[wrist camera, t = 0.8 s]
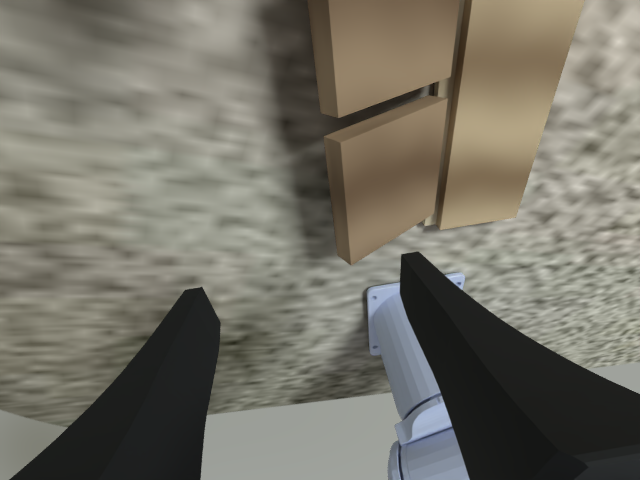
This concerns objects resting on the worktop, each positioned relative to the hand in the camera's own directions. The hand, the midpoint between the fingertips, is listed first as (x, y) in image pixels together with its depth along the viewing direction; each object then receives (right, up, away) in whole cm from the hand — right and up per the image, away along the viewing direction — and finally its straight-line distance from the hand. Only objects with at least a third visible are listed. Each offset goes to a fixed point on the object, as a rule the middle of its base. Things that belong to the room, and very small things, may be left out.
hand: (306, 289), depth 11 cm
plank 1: (+3, +11, +1) cm, 12 cm away
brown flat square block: (+4, +5, +6) cm, 9 cm away
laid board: (+10, +11, +5) cm, 15 cm away
